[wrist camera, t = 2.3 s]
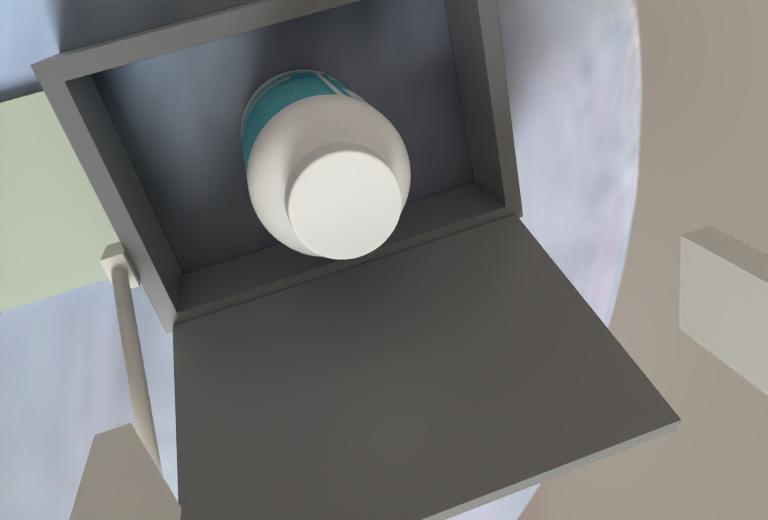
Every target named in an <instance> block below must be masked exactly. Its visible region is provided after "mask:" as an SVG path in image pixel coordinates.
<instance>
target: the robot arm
mask: <svg viewBox="0 0 768 520" xmlns="http://www.w3.org/2000/svg"><path fill="white" fill-rule="evenodd" d="M679 305H680V306H679V329H680V330H682V331H683V332H684V333H686V334H687V335H688V336H690V337H691V338H692V339H694V340H695V341H696V342H698V343H699V344H700V345H702V346H703V347H704V348H705V349H707V350H708V351H710V352H711V353H712V354H713V355H715V356H716V357H717V358H719V359H720V360H722V361H723V362H724V363H725V364H727V365H728V366H729V367H731V368H732V369H733V370H735V371H736V372H737V373H738V374H740V375H741V376H742V377H744V378H745V379H747V380H748V381H749V382H750V383H752V384H753V385H754V386H756V387H757V388H758V389H760V390H761V391H762V392H764V393H765V394H766V395H768V255H767V254H765V253H763V252H761V251H759V250H757V249H755V248H753V247H751V246H749V245H747V244H745V243H743V242H741V241H739V240H737V239H735V238H733V237H731V236H729V235H727V234H725V233H723V232H721V231H719V230H717V229H715V228H713V227H711V226H708V227H704V228H702V229H699V230H696V231H693V232H690V233H687V234H684V235H681V259H680V304H679ZM180 518H181V506H180V505H179V503H178V501H177V500H176V498H175V496H174V495H173V493H172V491H171V490H170V488H169V486H168V485H167V483H166V481H165V480H164V478H163V476H162V475H161V473H160V471H159V470H158V468H157V466H156V465H155V463H154V461H153V460H152V458H151V456H150V455H149V453H148V451H147V450H146V448H145V446H144V445H143V443H142V441H141V439H140V438H139V436H138V434H137V433H136V431H135V429H134V428H133V426H132V424H131V423H130V424H127V425H124V426H121V427H118V428H115V429H112V430H109V431H106V432H103V433H100V434H97V435H95V436H94V439H93V442H92V446H91V449H90V452H89V456H88V459H87V462H86V466H85V469H84V472H83V476H82V479H81V482H80V486H79V489H78V492H77V496H76V499H75V503H74V506H73V509H72V513H71V516H70V519H69V520H180Z"/></svg>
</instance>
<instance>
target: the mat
mask: <svg viewBox="0 0 768 520" xmlns="http://www.w3.org/2000/svg"><path fill="white" fill-rule="evenodd" d="M119 241H120V240H119V238H118V236H117V234H116V232H115V231H114V229H113V227H112V225H111V223H110V221H109V219H108V217H107V215H106V213H105V211H104V209H103V207H102V205H101V203H100V201H99V199H98V197H97V195H96V193H95V191H94V189H93V187H92V185H91V183H90V181H89V179H88V177H87V175H86V173H85V171H84V169H83V167H82V166H81V164H80V162H79V160H78V158H77V156H76V154H75V152H74V150H73V148H72V146H71V144H70V142H69V140H68V138H67V136H66V134H65V132H64V130H63V128H62V126H61V124H60V122H59V120H58V118H57V116H56V114H55V112H54V110H53V108H52V106H51V104H50V102H49V100H48V99H47V97H46V95H45V93H44V91H39V92H36V93H32V94H28V95H25V96H21V97H17V98H14V99H10V100H6V101H3V102H0V312H2V311H5V310H9V309H12V308H15V307H18V306H21V305H25V304H28V303H31V302H34V301H37V300H41V299H44V298H47V297H50V296H53V295H56V294H60V293H63V292H66V291H69V290H72V289H76V288H79V287H82V286H85V285H88V284H92V283H95V282H98V281H101V280H104V279H107V278H108V276H107V274H106V272H105V270H104V269H103V267H102V265H101V263H100V259H101V256H102V254H103V252H104V250H105V248H106V246H107V245H110V244H113V243H116V242H119Z"/></svg>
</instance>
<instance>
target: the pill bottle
mask: <svg viewBox="0 0 768 520" xmlns="http://www.w3.org/2000/svg"><path fill="white" fill-rule="evenodd" d="M241 142H242V149H243V156H244V163H245V169H246V177H247V183H248V189H249V195H250V198H251V202H252V205H253V208H254V210H255V212H256V214H257V216H258V218H259V219H260V221H261V223H262V224H263V225H264V227H265V228H266V229H267V230H268V231H269V232H270V233H271V234H272V235H273V236H274V237H275V238H276V239H277V240H279V241H280V242H281V243H283V244H284V245H286V246H288V247H289V248H291V249H293V250H296V251H298V252H301V253H303V254H307V255H311V256H320V257H327V258H331V259H352V258H357V257H360V256H363V255H365V254H368V253H370V252H371V251H373V250H375V249H376V248H378V247H379V246H380V245H382V244H383V243H384V242H385V241H386V240H387V239H388V237H389V236H390V235H391V233H392V232H393V230H394V229H395V227H396V225H397V223H398V220H399V217H400V214H401V212H402V210H403V208H404V206H405V203H406V200H407V197H408V194H409V189H410V180H411V171H410V162H409V157H408V153H407V150H406V147H405V145H404V142H403V140H402V138H401V136H400V135H399V133H398V132H397V130H396V129H395V127H394V126H393V125H392V124H391V123H390V121H389V120H388V119H387V118H386V117H384V116H383V115H382V114H381V113H380V112H379V111H377V110H376V109H375V108H374V107H372V106H371V105H370V104H369V103H367V102H366V101H365V100H364V99H362V98H361V97H360V96H359V95H357V94H356V93H355V92H354V91H353V90H351V89H350V88H349V87H348V86H346V85H345V84H344V83H342V82H341V81H340V80H338V79H337V78H335V77H333V76H331V75H329V74H326V73H324V72H321V71H316V70H309V69H298V70H290V71H286V72H283V73H280V74H278V75H276V76H274V77H272V78H270V79H269V80H268V81H266V82H265V83H263V84H262V85H261V86H260V87H259V88H258V89H257V90H256V91H255V93H254V94H253V95H252V97H251V98H250V100H249V102H248V104H247V106H246V108H245V111H244V114H243V117H242V123H241Z"/></svg>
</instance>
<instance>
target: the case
mask: <svg viewBox="0 0 768 520" xmlns="http://www.w3.org/2000/svg"><path fill="white" fill-rule="evenodd" d="M357 1H361V0H257V1H253V2H250V3H246V4H242V5H238V6H235V7H231V8H227V9H223V10H220V11H216V12H212V13H208V14H205V15H201V16H197V17H194V18H190V19H186V20H182V21H179V22H175V23H171V24H167V25H164V26H160V27H156V28H152V29H149V30H145V31H141V32H137V33H134V34H130V35H126V36H122V37H119V38H115V39H111V40H107V41H104V42H100V43H96V44H92V45H89V46H85V47H81V48H77V49H74V50H70V51H66V52H62V53H59V54H56V55H54V56H52V57H49V58H47V59H44V60H42V61H39V62H37V63H34V64H32V65H31V67H32V69H33V71H34V73H35V75H36V77H37V79H38V81H39V83H40V85H41V87H42V89H43V91H44V93H45V95H46V97H47V99H48V100H49V102H50V104H51V106H52V108H53V110H54V112H55V114H56V116H57V118H58V120H59V122H60V124H61V126H62V128H63V130H64V132H65V134H66V136H67V138H68V140H69V142H70V144H71V146H72V148H73V150H74V152H75V154H76V156H77V158H78V160H79V162H80V164H81V166H82V167H83V169H84V171H85V173H86V175H87V177H88V179H89V181H90V183H91V185H92V187H93V189H94V191H95V193H96V195H97V197H98V199H99V201H100V203H101V205H102V207H103V209H104V211H105V213H106V215H107V217H108V219H109V221H110V223H111V225H112V227H113V229H114V231H115V232H116V234H117V236H118V238H119V240H120V241H119V242H116V243H113V244H110V245H107V246H106V248H105V250H104V252H103V254H102V256H101V259H100V263H101V265H102V267H103V269H104V270H105V272H106V274H107V276H108V278H109V280H110V282H111V283H112V285H113V290H114V297H115V303H116V309H117V316H118V322H119V328H120V335H121V341H122V347H123V354H124V360H125V366H126V373H127V379H128V385H129V392H130V398H131V404H132V410H133V417H134V423H135V429H136V433H137V434H138V436H139V438H140V439H141V441H142V443H143V445H144V446H145V448H146V450H147V451H148V453H149V455H150V456H151V458H152V460H153V461H154V463H155V465H156V466H157V468H158V470H159V471H160V473H161V475H162V476H163V474H162V468H161V463H160V457H159V451H158V445H157V439H156V433H155V428H154V422H153V416H152V410H151V404H150V399H149V393H148V387H147V381H146V375H145V370H144V364H143V358H142V352H141V346H140V341H139V335H138V329H137V323H136V317H135V312H134V306H133V300H132V294H131V289H132V288H135V287H138V286H140V282H141V284H142V286H143V288H144V290H145V292H146V294H147V296H148V297H149V299H150V301H151V303H152V305H153V307H154V309H155V311H156V313H157V315H158V317H159V319H160V321H161V323H162V325H163V327H164V329H165V331H166V333H170V332H173V351H174V381H175V411H176V441H177V471H178V501H179V505H180V506H181V518H180V520H445V519H448V518H450V517H453V516H456V515H458V514H461V513H463V512H466V511H469V510H471V509H474V508H476V507H479V506H482V505H484V504H487V503H489V502H492V501H494V500H497V499H500V498H502V497H505V496H507V495H510V494H513V493H515V492H518V491H520V490H523V489H526V488H528V487H531V486H533V485H536V484H538V483H541V482H544V481H546V480H549V479H551V478H554V477H556V476H559V475H562V474H564V473H567V472H570V471H572V470H575V469H577V468H580V467H582V466H585V465H587V464H590V463H593V462H595V461H598V460H601V459H603V458H606V457H608V456H611V455H613V454H616V453H619V452H621V451H624V450H626V449H629V448H632V447H634V446H637V445H639V444H642V443H644V442H647V441H650V440H652V439H655V438H658V437H660V436H663V435H665V434H668V433H670V432H673V431H675V430H678V427H679V424H680V422H681V419H680V418H679V417H678V415H677V414H676V413H675V412H674V411H673V409H672V408H671V407H670V406H669V404H668V403H667V402H666V400H665V399H664V398H663V397H662V396H661V394H660V393H659V392H658V390H657V389H656V388H655V387H654V385H653V384H652V383H651V382H650V381H649V379H648V378H647V377H646V376H645V374H644V373H643V372H642V371H641V369H640V368H639V367H638V366H637V364H636V363H635V362H634V361H633V359H632V358H631V357H630V356H629V355H628V353H627V352H626V351H625V350H624V348H623V347H622V346H621V344H620V343H619V342H618V341H617V340H616V338H615V337H614V336H613V335H612V334H611V332H610V331H609V330H608V328H607V327H606V326H605V325H604V323H603V322H602V321H601V320H600V318H599V317H598V316H597V315H596V313H595V312H594V311H593V310H592V308H591V307H590V306H589V305H588V303H587V302H586V301H585V300H584V299H583V297H582V296H581V295H580V294H579V292H578V291H577V290H576V289H575V287H574V286H573V285H572V284H571V282H570V281H569V280H568V279H567V277H566V276H565V275H564V274H563V272H562V271H561V270H560V269H559V267H558V266H557V265H556V264H555V262H554V261H553V260H552V259H551V258H550V256H549V255H548V254H547V253H546V251H545V250H544V249H543V248H542V246H541V245H540V244H539V243H538V241H537V240H536V239H535V238H534V236H533V235H532V234H531V233H530V231H529V230H528V229H527V228H526V226H525V225H524V224H523V223H522V221H521V220H520V219H519V218H520V217H523V212H522V204H521V196H520V188H519V180H518V172H517V164H516V156H515V148H514V139H513V131H512V123H511V115H510V107H509V99H508V91H507V83H506V75H505V67H504V58H503V50H502V42H501V34H500V26H499V18H498V10H497V2H496V0H445V6H446V12H447V18H448V24H449V30H450V36H451V42H452V49H453V55H454V61H455V67H456V73H457V79H458V85H459V91H460V97H461V104H462V110H463V116H464V122H465V128H466V134H467V140H468V146H469V153H470V159H471V165H472V171H473V177H474V182H472V183H469V184H466V185H462V186H459V187H456V188H453V189H450V190H447V191H443V192H440V193H437V194H434V195H431V196H428V197H425V198H421V199H418V200H415V201H412V202H409V203H406V204H405V206H404V208H403V210H402V212H401V214H400V217H399V220H398V223H397V225H396V227H395V229H394V230H393V232H392V233H391V235H390V236H389V237H388V239H387V240H386V241H385V242H384V243H383V244H382V245H380V246H379V247H378V248H376V249H375V250H373V251H371V252H370V253H368V254H365V255H363V256H360V257H357V258H352V259H331V258H327V257H320V256H311V255H307V254H303V253H301V252H298V251H296V250H293V249H291V248H289V247H288V246H286V245H284V244H283V243H280V244H277V245H273V246H270V247H267V248H264V249H261V250H258V251H255V252H251V253H248V254H245V255H242V256H239V257H236V258H232V259H229V260H226V261H223V262H220V263H217V264H214V265H210V266H207V267H204V268H201V269H198V270H195V271H192V272H188V273H185V274H183V273H182V271H181V269H180V266H179V264H178V262H177V260H176V258H175V256H174V253H173V251H172V249H171V247H170V245H169V243H168V240H167V238H166V236H165V234H164V232H163V230H162V227H161V225H160V223H159V221H158V219H157V217H156V214H155V212H154V210H153V208H152V206H151V204H150V201H149V199H148V197H147V195H146V193H145V191H144V189H143V186H142V184H141V182H140V180H139V178H138V176H137V173H136V171H135V169H134V167H133V165H132V163H131V160H130V158H129V156H128V154H127V152H126V150H125V147H124V145H123V143H122V141H121V139H120V137H119V134H118V132H117V130H116V128H115V126H114V124H113V121H112V119H111V117H110V115H109V113H108V111H107V108H106V106H105V104H104V102H103V100H102V98H101V96H100V93H99V91H98V89H97V87H96V85H95V83H94V80H93V78H92V76H91V74H93V73H97V72H100V71H104V70H108V69H111V68H115V67H119V66H122V65H126V64H130V63H133V62H137V61H141V60H144V59H148V58H152V57H155V56H159V55H163V54H166V53H170V52H174V51H177V50H181V49H185V48H188V47H192V46H196V45H199V44H203V43H207V42H210V41H214V40H218V39H221V38H225V37H229V36H232V35H236V34H240V33H243V32H247V31H251V30H254V29H258V28H262V27H265V26H269V25H273V24H276V23H280V22H284V21H287V20H291V19H295V18H298V17H302V16H306V15H309V14H313V13H317V12H320V11H324V10H328V9H331V8H335V7H339V6H342V5H346V4H350V3H353V2H357Z"/></svg>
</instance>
